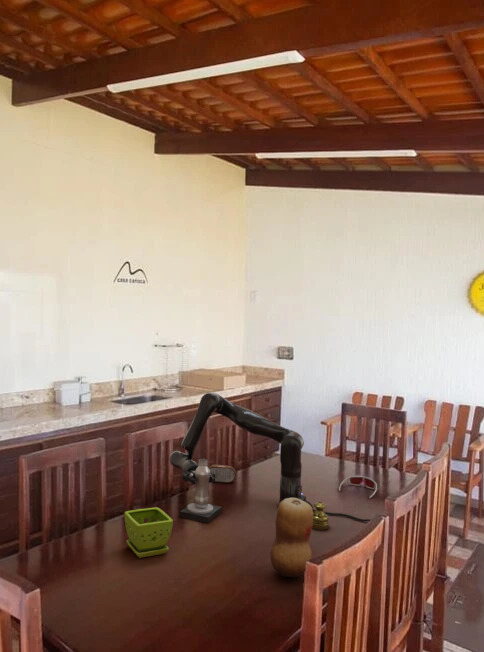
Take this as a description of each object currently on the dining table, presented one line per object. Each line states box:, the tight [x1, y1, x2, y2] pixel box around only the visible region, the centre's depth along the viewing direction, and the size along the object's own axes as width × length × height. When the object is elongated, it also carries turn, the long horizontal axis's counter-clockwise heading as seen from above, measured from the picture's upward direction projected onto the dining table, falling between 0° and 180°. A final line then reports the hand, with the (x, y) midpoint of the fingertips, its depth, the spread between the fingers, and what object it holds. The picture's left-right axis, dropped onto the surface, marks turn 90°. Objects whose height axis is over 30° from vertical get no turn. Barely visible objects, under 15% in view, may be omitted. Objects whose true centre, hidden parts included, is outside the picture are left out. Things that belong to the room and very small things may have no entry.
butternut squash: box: [269, 498, 314, 578], centre depth 178 cm, size 14×13×25 cm
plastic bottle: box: [193, 458, 210, 508], centre depth 228 cm, size 6×7×20 cm
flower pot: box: [124, 506, 174, 559], centre depth 192 cm, size 14×14×13 cm
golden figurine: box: [312, 501, 330, 531], centre depth 220 cm, size 7×7×10 cm
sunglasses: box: [338, 475, 378, 499], centre depth 268 cm, size 17×17×5 cm
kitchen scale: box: [179, 501, 223, 524], centre depth 228 cm, size 13×14×3 cm
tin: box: [208, 464, 237, 484], centre depth 272 cm, size 15×3×8 cm, turn 84°
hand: (204, 481), depth 226 cm, fingers open, 8 cm apart
